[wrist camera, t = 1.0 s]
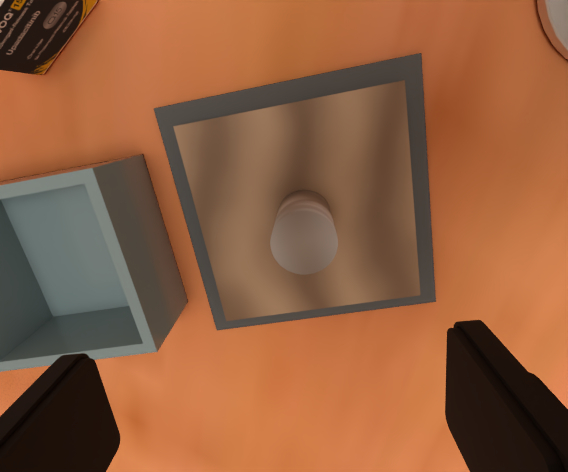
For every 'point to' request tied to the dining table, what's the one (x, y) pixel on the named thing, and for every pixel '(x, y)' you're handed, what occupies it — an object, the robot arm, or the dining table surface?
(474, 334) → the robot arm
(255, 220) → the walnut lid
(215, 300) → the rubber mat
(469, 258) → the dining table surface
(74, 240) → the grey ceramic box
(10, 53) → the medicine bottle
